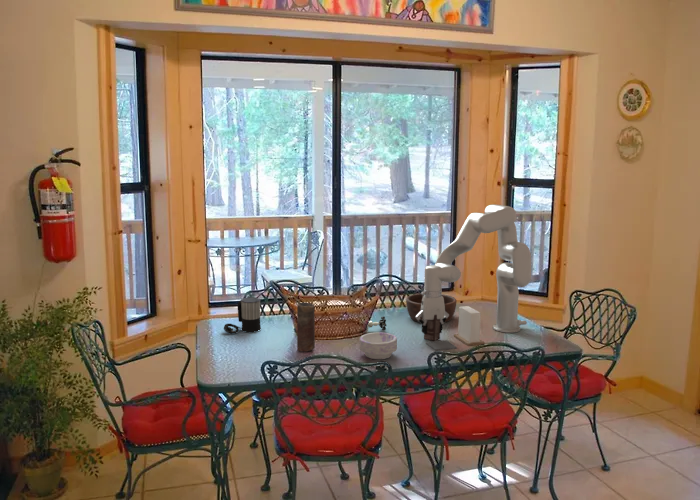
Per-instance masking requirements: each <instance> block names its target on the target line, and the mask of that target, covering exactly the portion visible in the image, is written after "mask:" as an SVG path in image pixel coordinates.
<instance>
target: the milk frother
mask: <svg viewBox="0 0 700 500" xmlns="http://www.w3.org/2000/svg"><path fill="white" fill-rule="evenodd" d="M237 317H238V319H237V320H238V322H240V323H241V327H240V326H237V325H236V324H233V323H225V324H224V326H223V330H224V331H225V332H226V333H227V334H229V333H230V334H232V333H235V334H237V333H236V332H238V333H239V332H240V330H239V329H242V330H241V332H243V331H246V332H245V333H249V332H252V333H255V332H254V331H258V330H260V329H261V330H262V328H261V298H259V297H254V296H253V297H252V296H251V297H248V296H247V297H244V298H241V299H240V300H239V301H238V302H237ZM234 329H235V330H234ZM261 330H260V331H261ZM258 332H259V331H258Z"/></svg>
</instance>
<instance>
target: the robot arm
mask: <svg viewBox="0 0 700 500" xmlns="http://www.w3.org/2000/svg"><path fill="white" fill-rule="evenodd" d="M517 214H518V213H517V211H516V210H515V208H513V207H511V206H509V205H501V204H496V203H494V204H489V205H487V206H485V208H484V213H483V212H471V213H469V215H468V216H467V218H466V219H465V221H464V223H463V224H462V227H461V228H460V230H459V232H458V234H457V236H456V238H455V239H454V240H453V242H451V243H450V244H448V246H446V248H445V247H444V249H443V250H442V251H441V253H440V254H439V256H438V258H437V259H436V262H435V264H434V265H433V264H430V265H426V266H425V267H424V288H423V291H421V293H420V294H422V295H424V296H423V298H422V303H421V311H420V312H419V313H418V314H417V315H416V316H415V318H416V319H417V320H418V321H419V322H418V323H420V325H421V332H422V334H423V335H424V334H427V326H426V323H427V320H433V319H434V315H437V319H440V334H442V331H443V325H444V323H446V322H445V320H446V319H447V318H448V317H449V314H448V313H447V312H446V311H445V305H444V298H443V296H441V294H443V293H442V292H443V291H442V288H443V287H442V286H443V285H442V284H443V283H454V282H457V281H459V280H460V278H461V276H462V275H461V273H462V272H461V270H460V268H458V267H457V266H456V265H453V264H452V263H453V262H454V261H455V259H456V258H458V257H459V256H460V255H462V254H465V253H468V252H470V251H471V250H473V248H474V246H475V245H476V243H477V241H478V239H479V237H480V235H481V233H482V234H490V233H495V232H497V233H496V234H497V243H498V244H497V246H498V248H497V249H498V250H497V251H498V255H499V258H500V259H502V260H503V261H506V262H503V263H500V264H499V265H498V267H496V270H495V271H496V273H495V276H496V282H497V284H496V285H497V297H496V298H497V300H496V303H497V304H496V323H495V324H493V325H492V328H493V330H494V331H497V332H501V333H507V334H508V333H510V334H512V333H518V332H520V331H521V325H522V326H525V325H528V322H527V320H521V319H518V313H519V311H518V310H519V298H520V297H519V293H520V292H519V288H524V287H526V286H528V285H529V284H530V282H531V279H532V256H531V249H530V247H528V245H527V244H526V243H523V242H520V241H518V236H517V235H518V232H517V226H516V220H517ZM507 261H508V262H507ZM420 317H422V318H423V319H422V320H421V319H420Z"/></svg>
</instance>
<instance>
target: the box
mask: <svg viewBox="0 0 700 500" xmlns="http://www.w3.org/2000/svg"><path fill="white" fill-rule="evenodd" d="M426 326H427V334H424V333H423V339H424V340H428V341H431V342H433V341H440V339H441V333H440V319H437V315H434V319H433V320H427V323H426Z"/></svg>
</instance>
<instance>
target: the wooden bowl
mask: <svg viewBox="0 0 700 500" xmlns="http://www.w3.org/2000/svg"><path fill="white" fill-rule="evenodd" d="M423 296H424V295H422V294H421V293H415V294H411V295H409V296H406V299H405V301H406V309H407V314H408V315H409V317H410V319H411V320H413V321H415V322H416V323H417V322H418V323H420V322H419V321H418V320H417V319H416V318H415V316H416V315H417V314H418V313H419V312H420V311H421V303H422V298H423ZM441 296H443V298H444V305H445V311H446V312H447V313H448V314H449V317H448V318H447V319H446V320H445V322H444V323H447V322H449V321H451V320H452V318H453V317H454V315H455V312H456V309H457V298H455V297H453V296H451V295H448V294H443V293H441ZM420 319H421V320H422V319H423V318H422V317H420Z"/></svg>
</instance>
